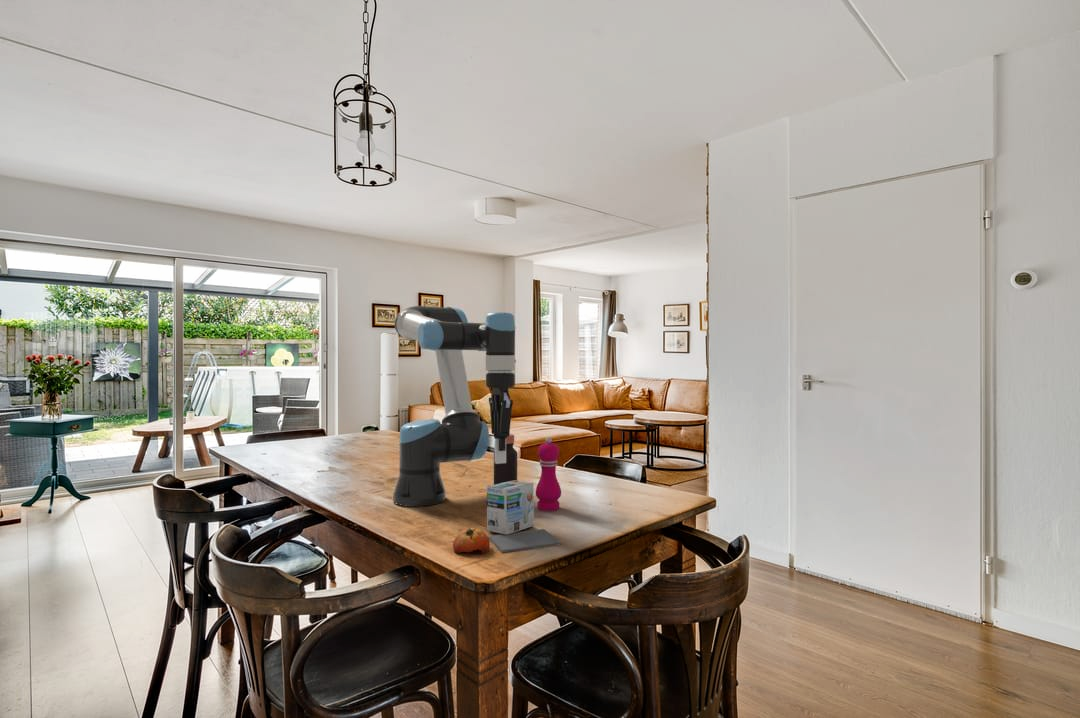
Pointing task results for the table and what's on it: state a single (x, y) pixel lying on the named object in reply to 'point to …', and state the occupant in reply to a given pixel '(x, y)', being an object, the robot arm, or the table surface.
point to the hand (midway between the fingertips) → (500, 462)
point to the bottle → (507, 464)
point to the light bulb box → (510, 507)
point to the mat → (523, 540)
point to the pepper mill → (548, 477)
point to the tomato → (471, 541)
